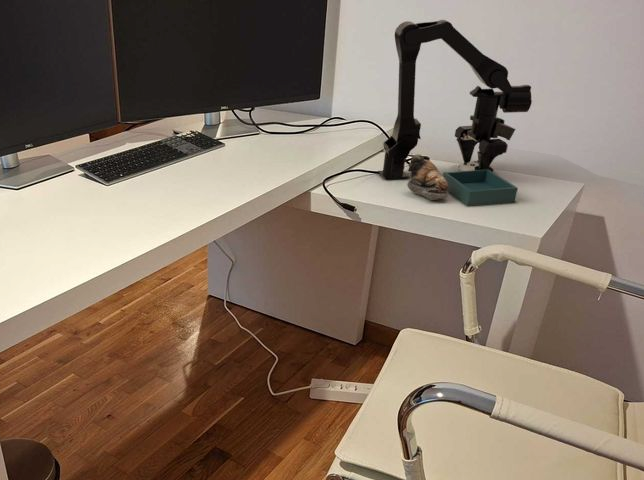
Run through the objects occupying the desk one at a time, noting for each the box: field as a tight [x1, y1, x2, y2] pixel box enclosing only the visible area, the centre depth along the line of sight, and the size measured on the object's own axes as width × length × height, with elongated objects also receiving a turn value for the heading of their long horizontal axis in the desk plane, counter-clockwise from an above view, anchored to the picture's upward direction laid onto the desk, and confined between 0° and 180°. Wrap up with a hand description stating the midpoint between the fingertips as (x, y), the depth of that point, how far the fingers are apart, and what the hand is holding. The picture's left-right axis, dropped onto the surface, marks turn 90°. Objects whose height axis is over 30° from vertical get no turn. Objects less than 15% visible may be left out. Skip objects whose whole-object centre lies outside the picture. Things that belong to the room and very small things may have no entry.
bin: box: [442, 169, 519, 207], centre depth 174 cm, size 15×12×4 cm
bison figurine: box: [407, 153, 449, 201], centre depth 172 cm, size 12×7×10 cm, turn 33°
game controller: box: [458, 159, 495, 173], centre depth 187 cm, size 10×5×6 cm
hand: (474, 170), depth 187 cm, fingers open, 9 cm apart
